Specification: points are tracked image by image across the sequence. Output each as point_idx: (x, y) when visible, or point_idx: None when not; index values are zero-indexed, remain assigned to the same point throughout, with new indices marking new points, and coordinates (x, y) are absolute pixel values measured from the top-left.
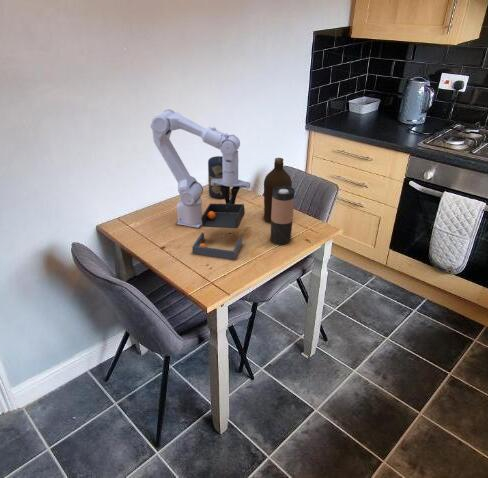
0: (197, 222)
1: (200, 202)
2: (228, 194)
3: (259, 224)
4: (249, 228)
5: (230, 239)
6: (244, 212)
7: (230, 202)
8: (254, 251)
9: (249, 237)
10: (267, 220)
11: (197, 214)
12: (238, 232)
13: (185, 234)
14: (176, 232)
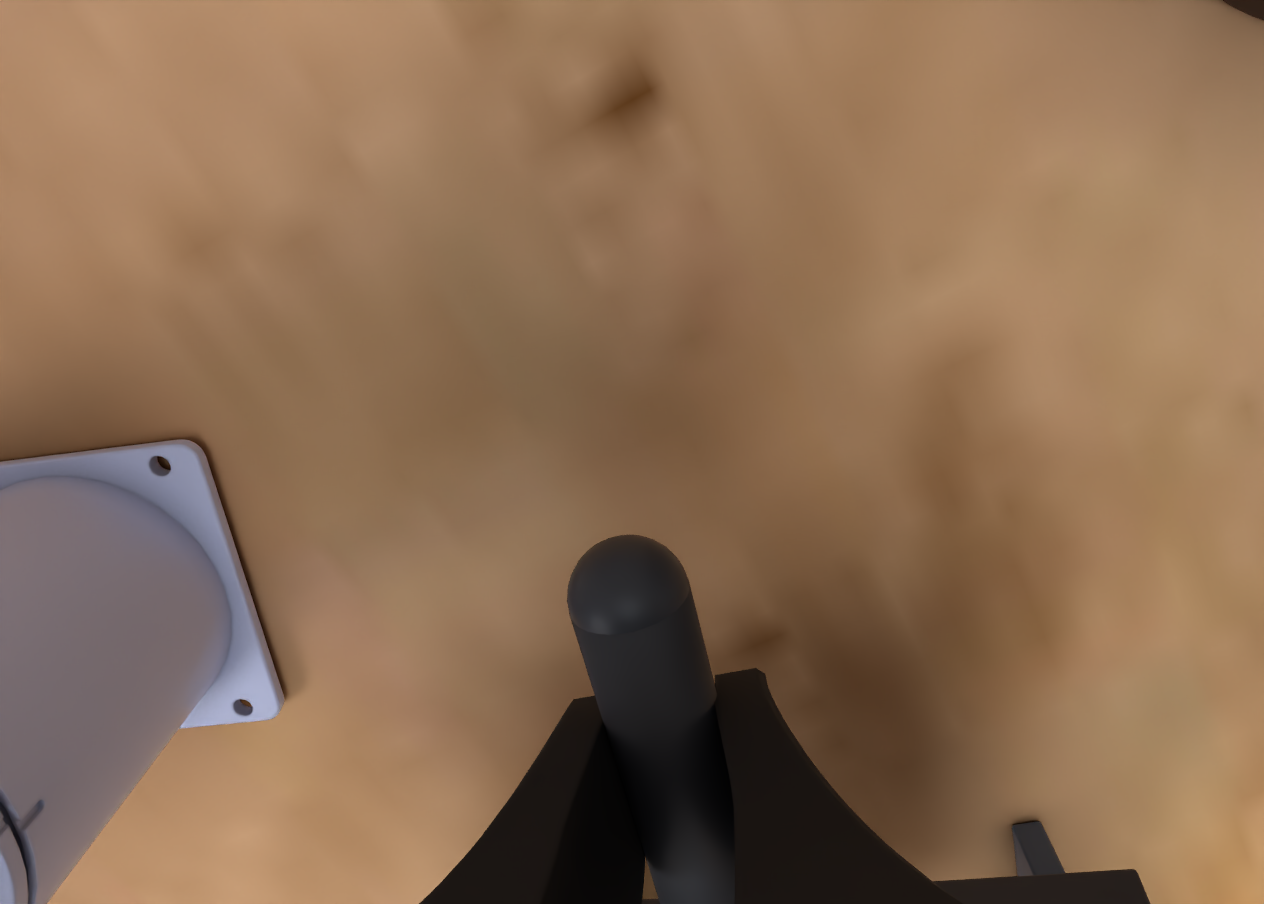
0: (206, 688)
1: (6, 862)
2: (581, 901)
3: (1106, 173)
4: (981, 387)
5: (839, 767)
6: (1142, 899)
7: (725, 875)
8: (1240, 878)
9: (1073, 625)
10: (1260, 13)
11: (139, 778)
12: (864, 569)
13: (257, 879)
14: (130, 883)
